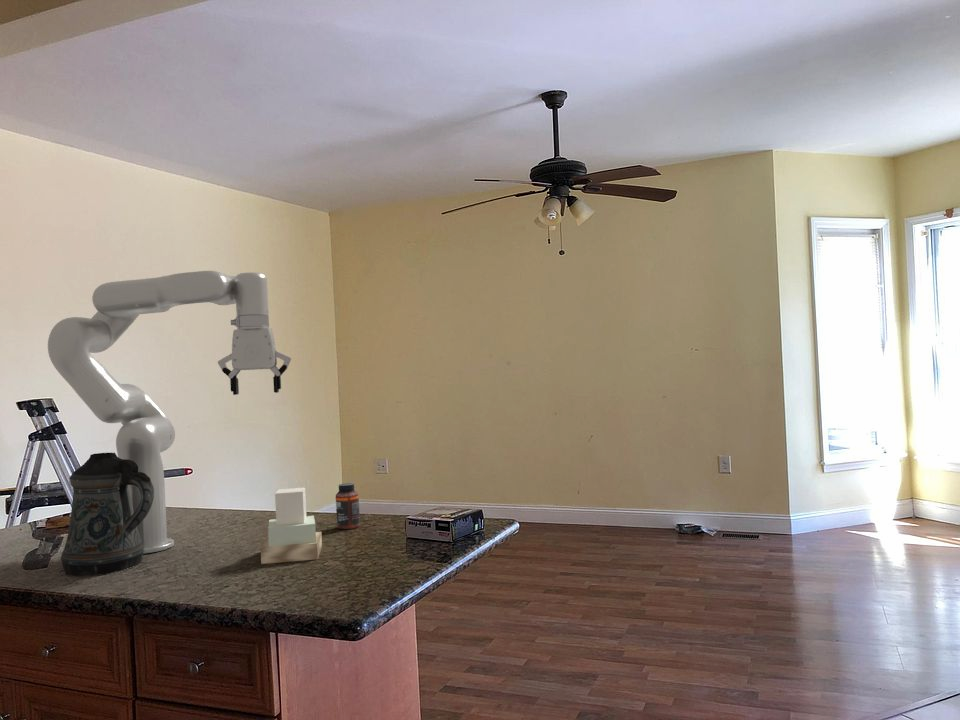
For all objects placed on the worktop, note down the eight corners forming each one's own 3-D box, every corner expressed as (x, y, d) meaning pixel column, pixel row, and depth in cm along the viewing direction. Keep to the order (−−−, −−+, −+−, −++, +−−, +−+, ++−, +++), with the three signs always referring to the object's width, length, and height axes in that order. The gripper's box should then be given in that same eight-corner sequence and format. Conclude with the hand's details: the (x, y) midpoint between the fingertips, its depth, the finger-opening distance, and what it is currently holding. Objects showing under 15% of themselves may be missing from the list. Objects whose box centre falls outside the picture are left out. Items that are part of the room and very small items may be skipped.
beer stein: (68, 562, 169) (63, 453, 169) (160, 551, 176) (155, 446, 176) (54, 581, 154) (49, 461, 154) (156, 567, 160) (151, 452, 161)
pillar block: (276, 525, 163) (274, 493, 163) (279, 520, 169) (278, 489, 169) (304, 523, 164) (302, 491, 164) (306, 517, 170) (305, 487, 170)
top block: (269, 546, 160) (268, 528, 160) (270, 537, 170) (269, 519, 170) (316, 541, 163) (315, 523, 163) (314, 532, 173) (313, 515, 173)
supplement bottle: (362, 524, 195) (360, 481, 195) (356, 529, 189) (354, 485, 189) (340, 525, 196) (338, 482, 196) (334, 530, 190) (332, 486, 190)
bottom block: (261, 566, 160) (260, 547, 160) (269, 552, 172) (268, 535, 172) (317, 561, 161) (317, 543, 161) (322, 548, 173) (321, 531, 173)
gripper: (212, 324, 176) (216, 396, 176) (287, 321, 178) (290, 392, 178) (220, 326, 183) (223, 394, 183) (291, 323, 185) (294, 391, 185)
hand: (256, 393), depth 181 cm, fingers open, 9 cm apart
